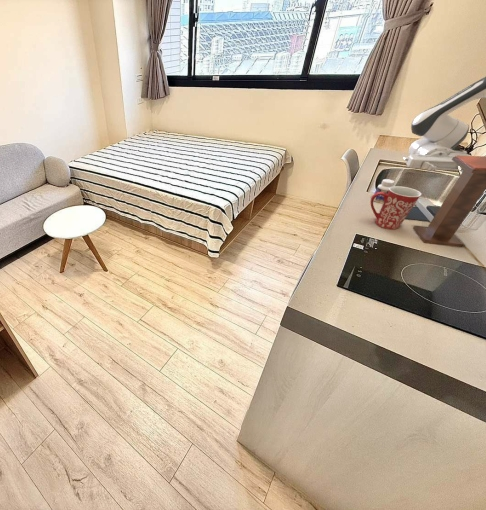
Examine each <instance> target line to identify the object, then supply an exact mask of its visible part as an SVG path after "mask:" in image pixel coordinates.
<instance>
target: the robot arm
mask: <svg viewBox="0 0 486 510" xmlns="http://www.w3.org/2000/svg"><path fill="white" fill-rule="evenodd" d="M479 99H486V76H484V77H483V78H480V79H479V80H477V81H475V82H473V83H472V84H470V85H468V86H466V87H464V88H463V89H462V90H460V91H458V92H457V93H454V95H451V96H450V97H448V98H446V99H445V100H443V101H442V102H439V103H437V104H436V105H434V106H432V107H429V108H428V109H426V110H424V111H422V112H421V113H419V114H418V115H417V116H415V118H414V119H413V120H412V122H411V125H410V129H411V133H412V135H415V136H418V137H420V138H419V139H416V140H414V141H413V142H412V143H411V144H410V146H409V147H408V155H407V156H404V157H403V160H404V161H406V162H405V164H406V166H407V168H410V169H421V170H427V171H431V172H432V171H436V170H443V171H444V170H445V171H447V170H448V171H460V172H461V173H462V172H463V170H464V169H465V168H463V167H462V166H460V165H459V164H457V163H456V162H454V161H453V160H452V158H453V157H455V155H460V156H472V155H471V154H468V151H466V150H462V149H455V148H457V147H458V146H459V145H461V143H463V142H464V141H465V140H466V138H467V137H468V134H469V131H470V125H469V124H467V123H465V122H464V121H462V120H460V119H458V118H456V117H454V116H452V115H450V114H451V113H453V112H454V111H457V110H458V109H460V108H462V107H464V106H465V105H466V104H468V103H470V102H473V101H475V100H479ZM421 137H422V138H421ZM458 166H460V167H461V168H462V169H461V170H458Z"/></svg>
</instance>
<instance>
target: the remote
mask: <svg viewBox="0 0 486 510" xmlns="http://www.w3.org/2000/svg"><path fill="white" fill-rule="evenodd" d="M414 206H415V207H418V208H419V209H420V210H421V212H422V213H423V214H424V215H425V216H426V217H427V219H428V220H429V221H430V223H431V221H432V220H433V218H434V216H435V215H436V213H437V212H438V210H439V208H440V207H441V206H438V205H434V203H432V201H431V200H430V199H429V198H424V197H419V198H418V200H417V201H416V203H415V204H414Z"/></svg>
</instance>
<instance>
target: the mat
mask: <svg viewBox="0 0 486 510" xmlns="http://www.w3.org/2000/svg"><path fill="white" fill-rule="evenodd" d="M404 220H410V221H420V222H430V221H429V220H428V219H427V217H426V216H425V215H424V214H423V213H422V212H421V210H420V209H419V208H418V207H417V206H415V205H414V206H413V207H412V209H411V210H410V212H409V213H408V215H407V216H406V218H405V219H404ZM430 223H431V222H430Z"/></svg>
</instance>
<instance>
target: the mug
mask: <svg viewBox="0 0 486 510" xmlns="http://www.w3.org/2000/svg"><path fill="white" fill-rule="evenodd" d="M374 193H375V192H374ZM374 193H373V195H372V196H371V199H370V208H371V211H372V212H373V215H374V217H375V218H376V219H375V224H376V226H379V227H380V228H383V229H387V230H398V229H399V228H400V227H401V226H402V224H403V222H404V221H405V220H406V219H405V218H406V216H407V215H408V213H409V212H410V210H411V209H412V207H413V206H414V207H415V203H416V201H417V200H418V198H421V196H422V192H421V191H419V190H418V189H414V188H412V187H407V186H399V185H393V187H390V188H389V191H388V194H386V193H383V192H377V193H375V194H374ZM378 195H383V197H384V203H382V205H381V208H380V210H379V212H377V210H376V209H375V205H374V202H375V201H374V198H375V197H376V196H378Z"/></svg>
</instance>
